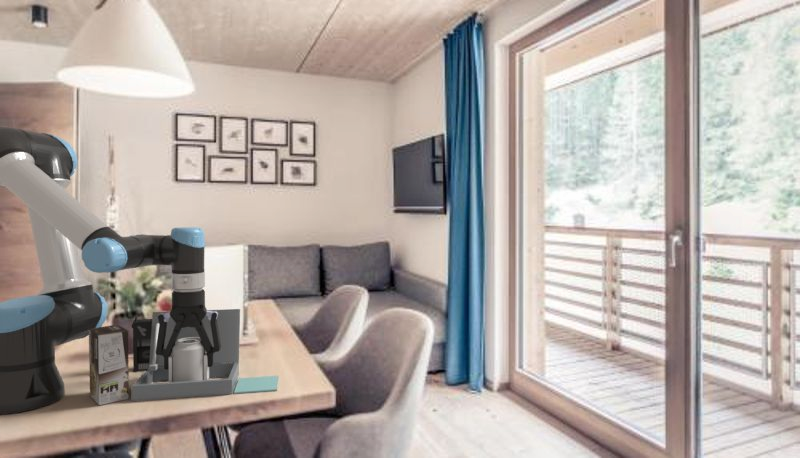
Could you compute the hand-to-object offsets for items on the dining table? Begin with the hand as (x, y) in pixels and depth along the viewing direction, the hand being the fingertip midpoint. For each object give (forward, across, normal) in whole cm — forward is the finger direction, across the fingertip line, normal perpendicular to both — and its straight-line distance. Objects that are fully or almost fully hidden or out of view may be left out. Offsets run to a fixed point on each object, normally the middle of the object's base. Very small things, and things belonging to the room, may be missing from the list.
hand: (189, 380), depth 118 cm
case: (+2, 0, +2) cm, 3 cm away
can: (+2, 0, 0) cm, 2 cm away
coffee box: (+2, -17, -3) cm, 17 cm away
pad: (+2, +16, -2) cm, 17 cm away
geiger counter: (+2, -13, +18) cm, 22 cm away
